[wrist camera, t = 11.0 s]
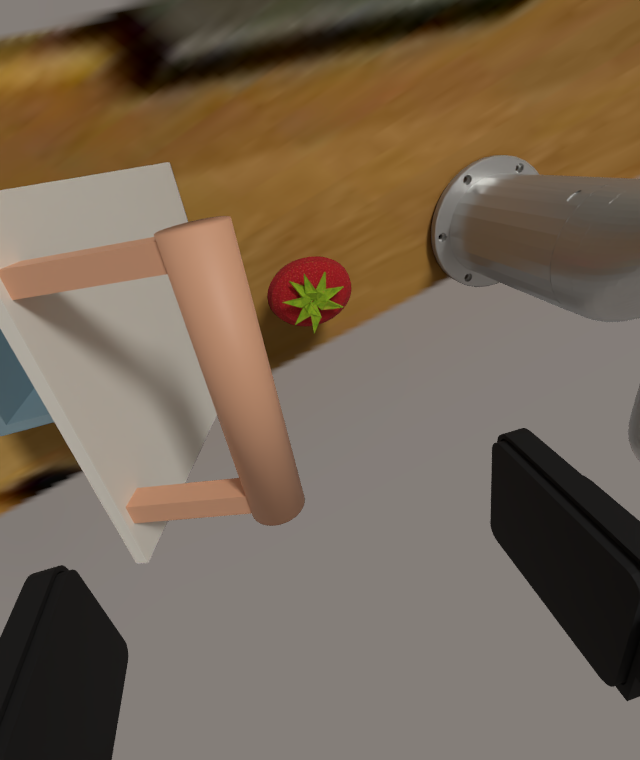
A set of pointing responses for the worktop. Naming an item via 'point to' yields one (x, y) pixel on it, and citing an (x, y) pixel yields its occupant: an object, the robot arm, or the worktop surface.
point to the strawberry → (309, 291)
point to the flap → (144, 348)
